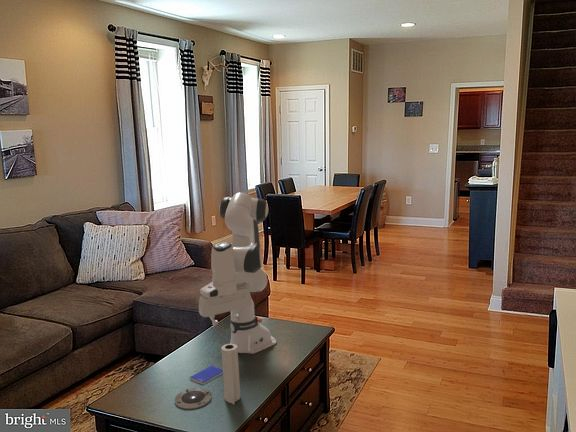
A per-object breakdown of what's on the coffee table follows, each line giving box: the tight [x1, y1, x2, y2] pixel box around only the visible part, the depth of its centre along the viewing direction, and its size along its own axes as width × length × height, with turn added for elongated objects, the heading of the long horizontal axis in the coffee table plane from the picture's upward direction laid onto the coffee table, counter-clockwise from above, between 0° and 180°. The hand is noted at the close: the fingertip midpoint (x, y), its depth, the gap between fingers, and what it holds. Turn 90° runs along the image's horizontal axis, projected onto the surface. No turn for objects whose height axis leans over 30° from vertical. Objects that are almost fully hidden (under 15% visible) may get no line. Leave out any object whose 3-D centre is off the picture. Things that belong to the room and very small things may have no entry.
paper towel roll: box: [220, 343, 241, 406], centre depth 191 cm, size 7×6×21 cm
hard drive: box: [188, 365, 223, 386], centre depth 212 cm, size 2×8×12 cm
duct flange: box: [174, 387, 213, 410], centre depth 194 cm, size 14×14×1 cm
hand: (226, 322), depth 188 cm, fingers open, 8 cm apart
